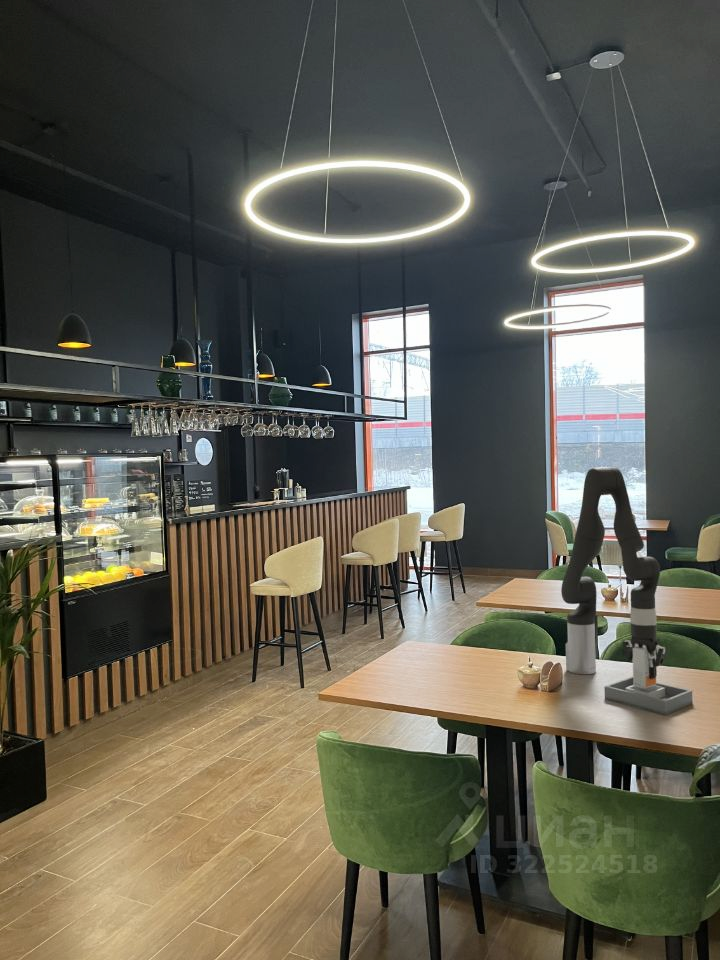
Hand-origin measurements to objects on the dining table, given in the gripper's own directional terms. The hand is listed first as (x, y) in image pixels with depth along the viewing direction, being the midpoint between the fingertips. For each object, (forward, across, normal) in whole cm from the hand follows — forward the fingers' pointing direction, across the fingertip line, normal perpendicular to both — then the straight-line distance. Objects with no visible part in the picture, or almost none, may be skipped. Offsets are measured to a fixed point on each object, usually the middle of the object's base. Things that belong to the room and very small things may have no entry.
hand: (645, 676), depth 221 cm
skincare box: (+3, 0, 0) cm, 3 cm away
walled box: (+7, +2, -2) cm, 7 cm away
